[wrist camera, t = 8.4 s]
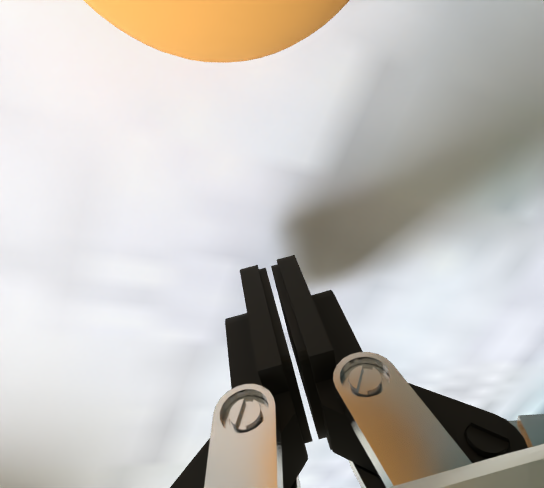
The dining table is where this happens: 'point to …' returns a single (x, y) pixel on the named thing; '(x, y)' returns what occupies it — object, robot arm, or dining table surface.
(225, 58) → the ball
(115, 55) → the dining table surface
